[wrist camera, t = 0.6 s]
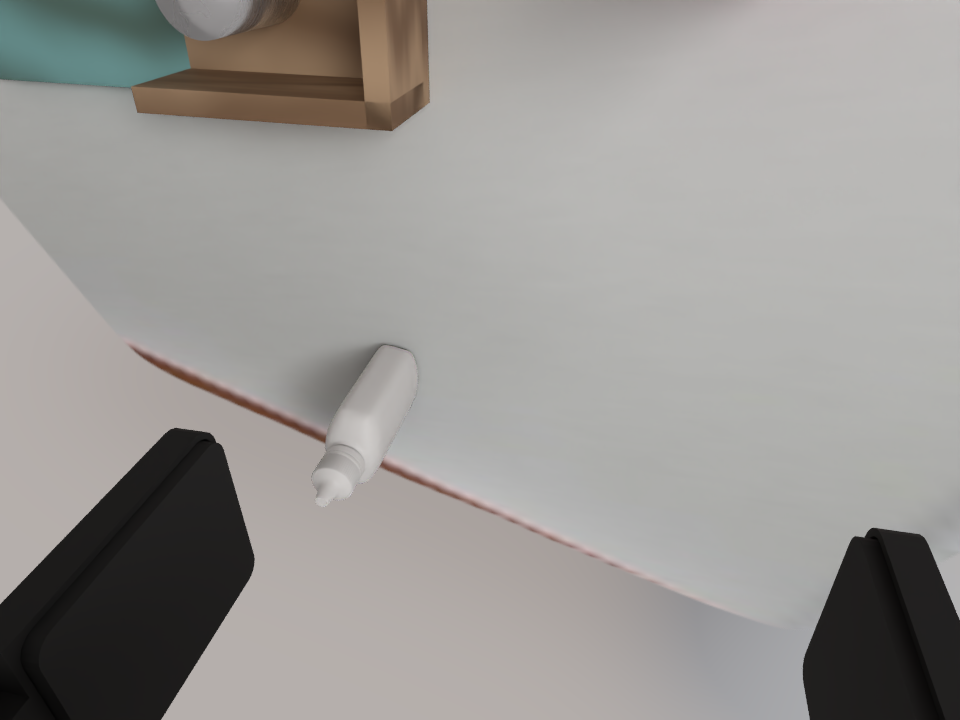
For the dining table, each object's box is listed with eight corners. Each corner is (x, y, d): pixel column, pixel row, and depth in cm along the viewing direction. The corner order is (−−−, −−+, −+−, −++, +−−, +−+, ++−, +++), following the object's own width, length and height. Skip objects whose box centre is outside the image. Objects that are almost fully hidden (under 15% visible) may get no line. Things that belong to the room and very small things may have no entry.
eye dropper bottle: (347, 382, 47) (264, 503, 37) (391, 332, 44) (313, 450, 34) (397, 420, 48) (328, 548, 38) (443, 374, 45) (382, 501, 35)
